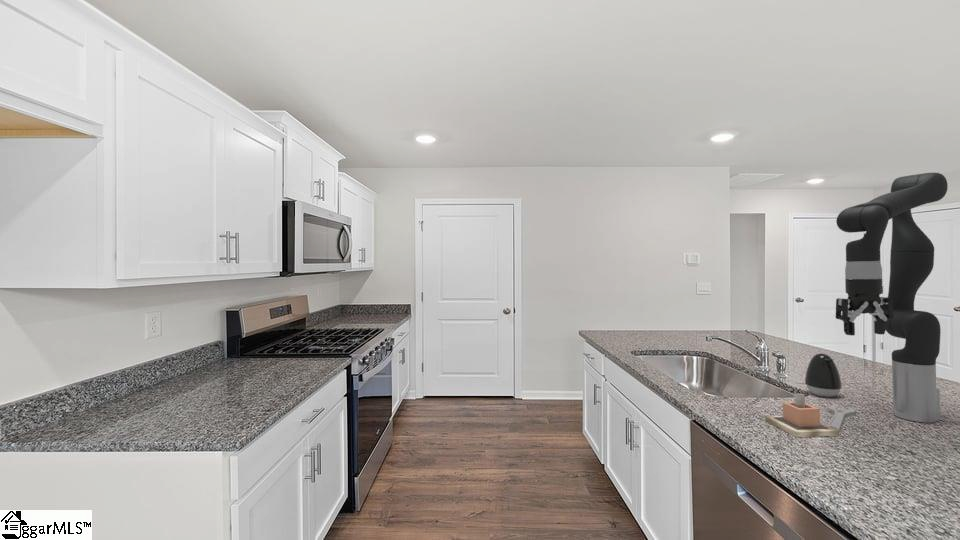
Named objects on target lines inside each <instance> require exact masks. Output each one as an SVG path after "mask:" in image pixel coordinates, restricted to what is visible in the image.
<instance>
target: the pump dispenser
mask: <svg viewBox="0 0 960 540" xmlns="http://www.w3.org/2000/svg"><path fill="white" fill-rule="evenodd" d="M839 372H840V371H839V369H838V367H837V365H836V363H835V361H834V359H833V358H832V357H831V356H830V355H828V354H826V353H816V354H815V355H813V356H812V358H811V359H810V360H809V363H808V366H807V368H806V373H805V377H804V383H805V385H806V388H807V389H808V391H809V392H810V393H811V394H813V395H815V396H819V397H822V398H824V397H825V398H833V397H836V396H837V395H838V394H839V393H840V391H841V389H842V388H843V385H842V379H841V376H840V373H839Z"/></svg>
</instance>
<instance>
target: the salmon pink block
mask: <svg viewBox="0 0 960 540" xmlns="http://www.w3.org/2000/svg"><path fill="white" fill-rule="evenodd" d="M820 412H821V411H820V408H819V407H816V406H813V405H810V404H809V403H806V402H805V408H798V407H795V405H794V401H792V402H791V401H789V402H785V401H784V402H782V416H783V419H784V420H786V421H788V422H790V423H792V424H794V425H796V426H799V427H812V426H820V423H821V416H820V415H821V413H820Z"/></svg>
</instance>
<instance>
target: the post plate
mask: <svg viewBox="0 0 960 540" xmlns="http://www.w3.org/2000/svg"><path fill="white" fill-rule="evenodd" d="M793 396H794V397H793V399H794V400H793V402H794V405H795V407H798V408H805V403H806V402H805V401H806V398H805V394H804V393H800V392H799V393H798V392H797V393H796V392H795V393H794V395H793ZM764 421H765V422H766V423H768V424H769V425H772V426H774V427H775V428H777V427H778V428H777V429H779V428H780V430H781V429H782V431H783V432H786V433H787V434H789V435H791V436H793V437H794V438H797V437H799V438H815V437H814V436H829V437H839V436H840V431H838V430H836V429H834V428H831V427H829V426H827V425H828V424H825V423H823V422H820V426H812V427H799V426H796V425H794V424H792V423H790V422H788V421H786V420H784V419H783V415H768V416H767V415H765V416H764Z"/></svg>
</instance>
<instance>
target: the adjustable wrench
mask: <svg viewBox="0 0 960 540" xmlns="http://www.w3.org/2000/svg"><path fill="white" fill-rule="evenodd" d="M827 412H828V413H831V414H832V415H833V416H832V418H831V419H830V421H829V422H828V424H826V425H827V426H829V427H831V428H834V429H836V430H838V431H839V432H841V431H840V430H841V429H840V428H842V426H843V423H844V420H845V418H848V417H853V415H854V416H856V415H857V410H856V409H854V408H853V407H851V406H846V409H845V408H844V409H843V408H839V407H838V406H837V405H830V406H828V407H827Z"/></svg>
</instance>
